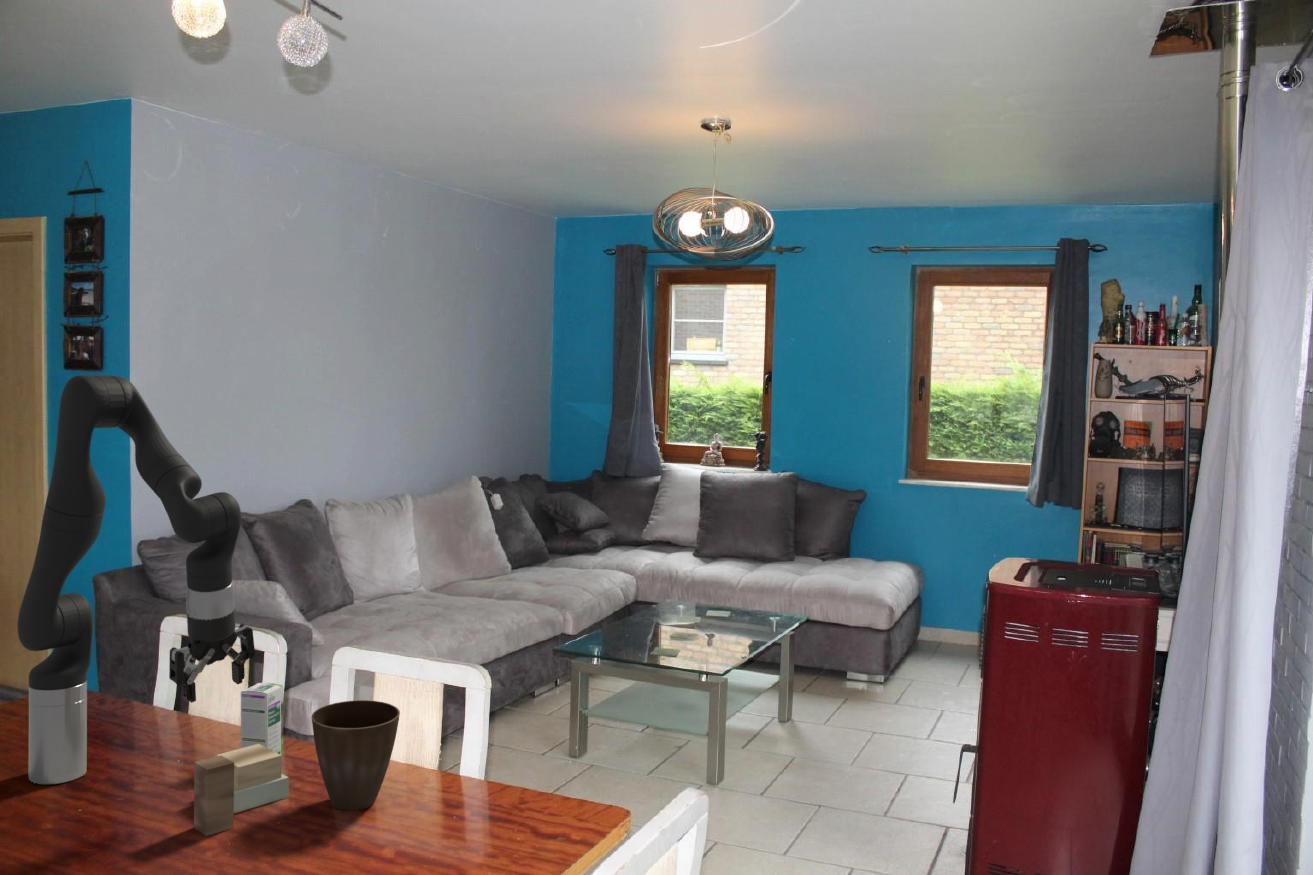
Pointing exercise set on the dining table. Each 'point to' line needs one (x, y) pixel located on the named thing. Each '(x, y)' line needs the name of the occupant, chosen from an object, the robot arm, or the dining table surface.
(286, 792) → the tower base
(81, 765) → the robot arm
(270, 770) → the tower top
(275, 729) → the syrup box
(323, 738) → the plant pot
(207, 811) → the walnut block
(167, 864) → the dining table surface
